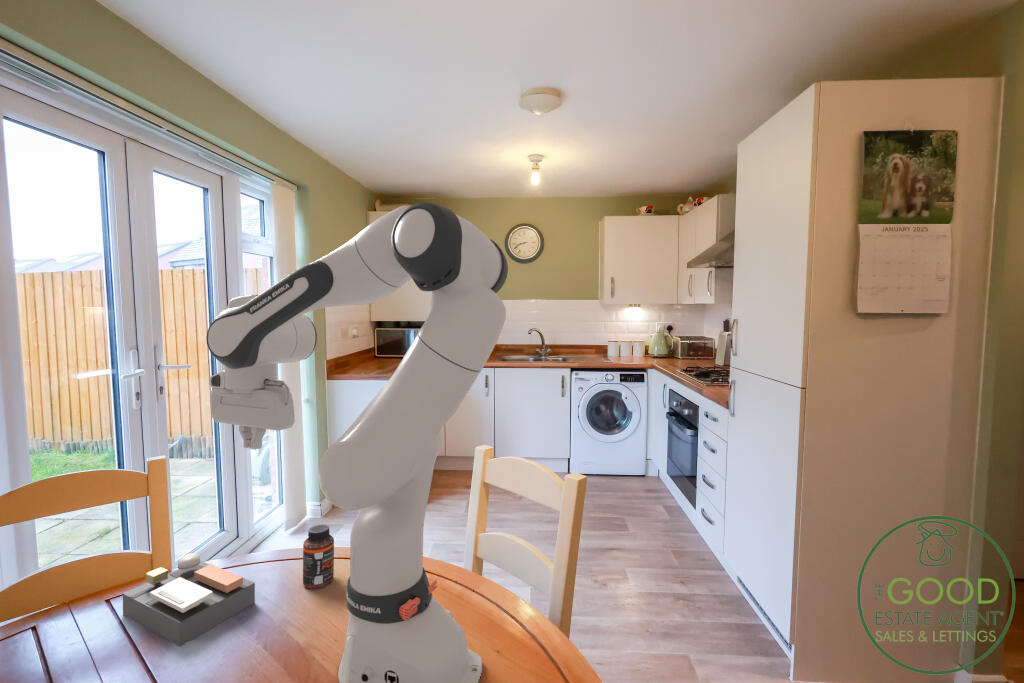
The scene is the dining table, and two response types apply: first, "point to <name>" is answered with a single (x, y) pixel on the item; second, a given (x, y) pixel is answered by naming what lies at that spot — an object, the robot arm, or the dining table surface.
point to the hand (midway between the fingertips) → (252, 448)
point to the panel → (192, 621)
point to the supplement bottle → (318, 557)
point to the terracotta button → (218, 578)
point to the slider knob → (157, 576)
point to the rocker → (181, 594)
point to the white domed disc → (188, 561)
